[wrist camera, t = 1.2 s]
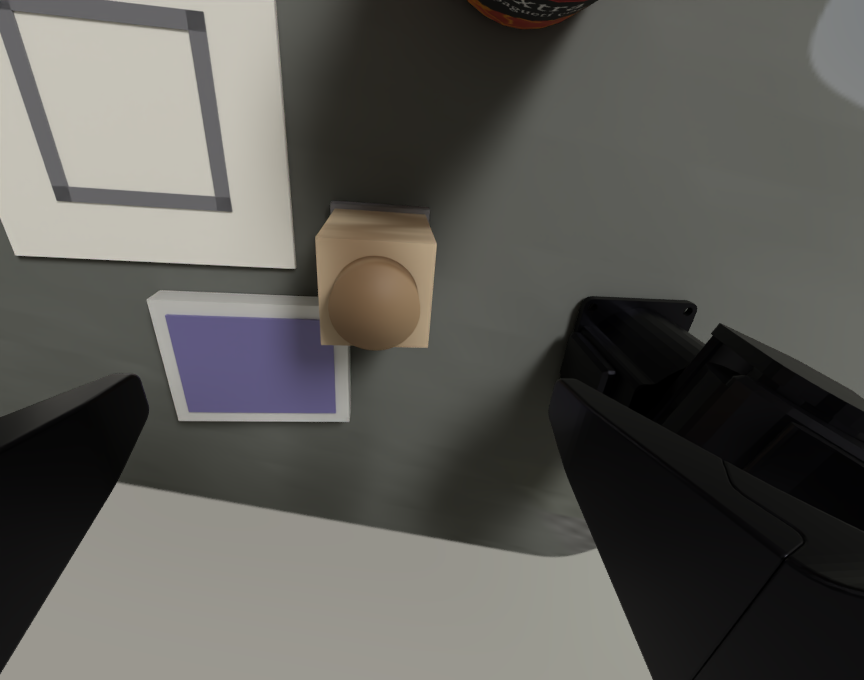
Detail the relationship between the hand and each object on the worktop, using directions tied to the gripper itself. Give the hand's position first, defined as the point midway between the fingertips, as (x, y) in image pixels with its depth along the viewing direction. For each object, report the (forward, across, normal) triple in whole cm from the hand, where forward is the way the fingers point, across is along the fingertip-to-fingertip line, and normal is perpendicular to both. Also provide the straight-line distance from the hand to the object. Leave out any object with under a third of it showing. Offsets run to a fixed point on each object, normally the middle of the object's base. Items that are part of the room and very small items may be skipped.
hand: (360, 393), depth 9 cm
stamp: (+12, 0, 0) cm, 12 cm away
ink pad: (+12, +6, +6) cm, 15 cm away
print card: (+12, +10, -5) cm, 16 cm away
